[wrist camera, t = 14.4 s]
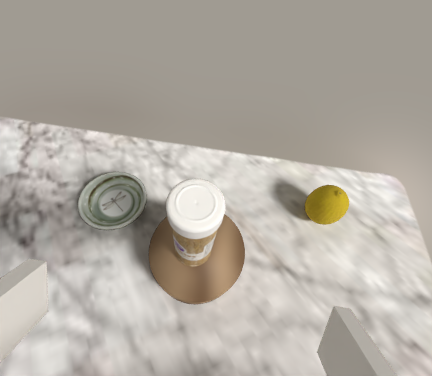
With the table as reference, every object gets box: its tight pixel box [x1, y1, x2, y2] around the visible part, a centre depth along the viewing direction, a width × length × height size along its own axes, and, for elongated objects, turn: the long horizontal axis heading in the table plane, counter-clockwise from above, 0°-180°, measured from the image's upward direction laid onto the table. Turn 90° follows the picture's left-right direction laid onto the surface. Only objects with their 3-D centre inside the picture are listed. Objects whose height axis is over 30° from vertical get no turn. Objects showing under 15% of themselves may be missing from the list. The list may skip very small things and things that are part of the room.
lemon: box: [305, 185, 349, 224], centre depth 35 cm, size 6×6×8 cm
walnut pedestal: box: [149, 214, 245, 304], centre depth 31 cm, size 12×12×5 cm
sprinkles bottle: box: [166, 179, 225, 267], centre depth 23 cm, size 5×5×14 cm
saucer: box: [78, 172, 147, 230], centre depth 35 cm, size 10×10×2 cm
